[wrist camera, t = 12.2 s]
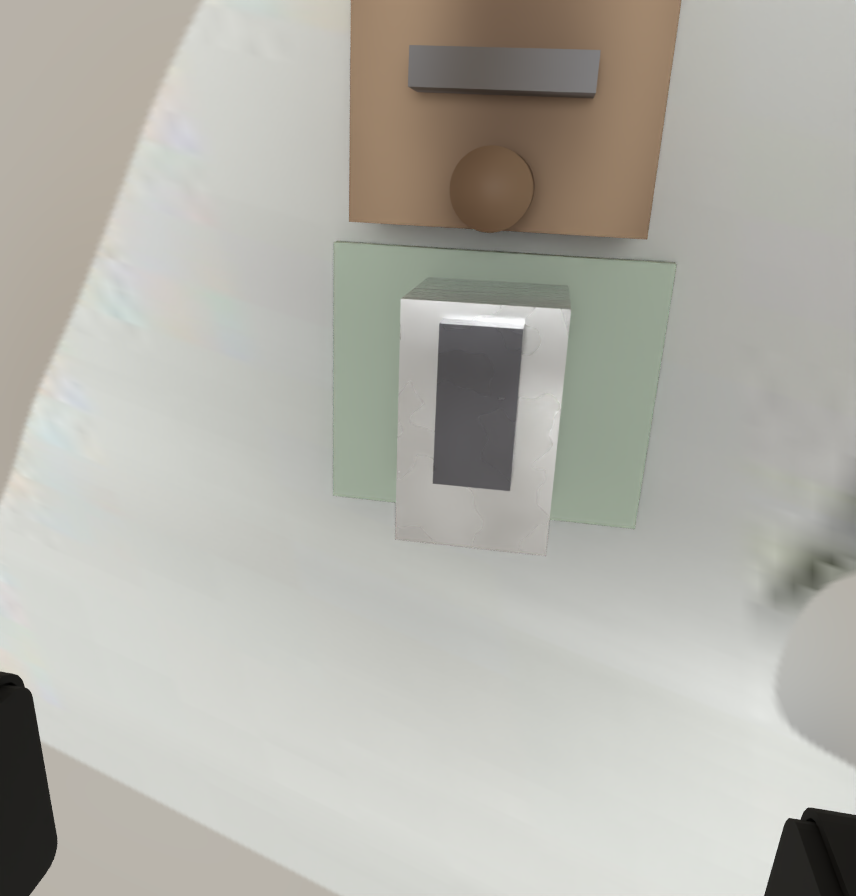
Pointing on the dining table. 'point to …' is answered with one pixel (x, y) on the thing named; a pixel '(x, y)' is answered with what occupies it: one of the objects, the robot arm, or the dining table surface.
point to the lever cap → (479, 412)
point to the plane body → (509, 113)
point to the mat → (585, 381)
